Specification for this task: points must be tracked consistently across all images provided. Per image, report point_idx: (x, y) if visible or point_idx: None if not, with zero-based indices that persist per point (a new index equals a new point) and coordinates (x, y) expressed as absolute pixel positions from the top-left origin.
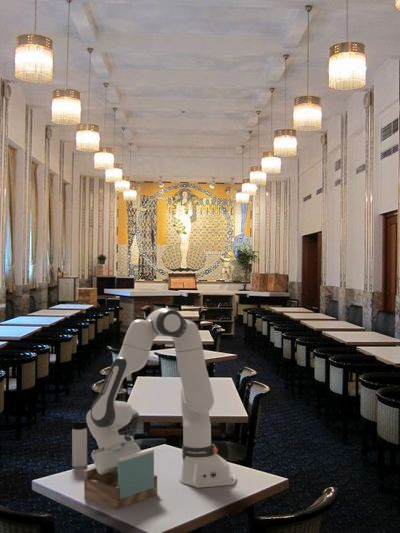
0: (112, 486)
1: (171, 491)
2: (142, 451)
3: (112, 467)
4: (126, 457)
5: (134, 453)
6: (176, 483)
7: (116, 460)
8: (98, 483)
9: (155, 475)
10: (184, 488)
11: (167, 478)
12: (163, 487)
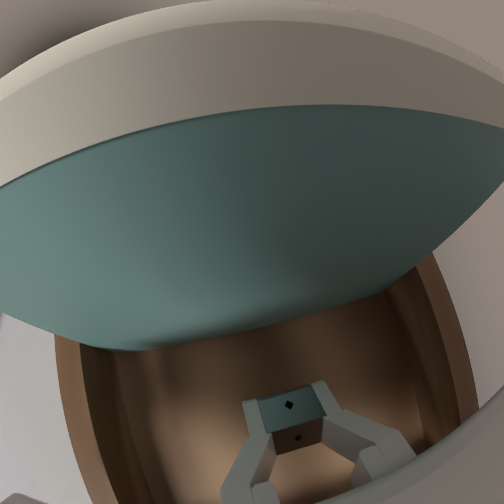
0: (435, 308)
1: (52, 336)
2: (5, 86)
3: (499, 390)
4: (483, 64)
5: (340, 23)
6: (5, 392)
7: (476, 492)
8: (477, 402)
9: (58, 342)
10: (12, 325)
11: (10, 458)
12: (51, 402)
